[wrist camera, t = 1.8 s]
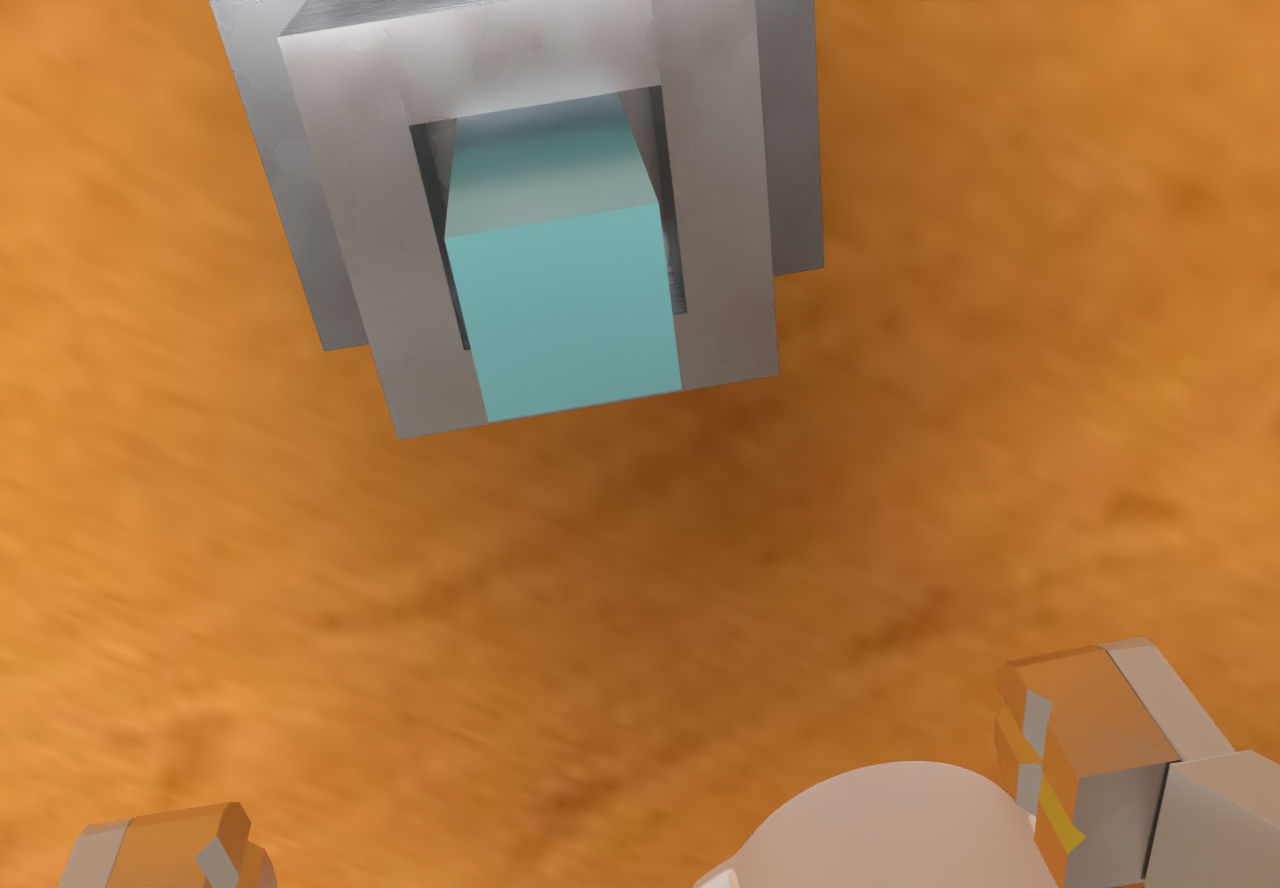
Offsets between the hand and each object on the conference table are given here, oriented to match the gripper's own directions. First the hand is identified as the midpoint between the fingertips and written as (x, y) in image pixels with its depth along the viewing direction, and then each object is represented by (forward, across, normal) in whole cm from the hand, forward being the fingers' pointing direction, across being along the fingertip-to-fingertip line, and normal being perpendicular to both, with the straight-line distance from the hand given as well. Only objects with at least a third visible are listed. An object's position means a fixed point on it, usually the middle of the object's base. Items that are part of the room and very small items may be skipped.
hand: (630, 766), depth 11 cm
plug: (+19, 0, 0) cm, 19 cm away
